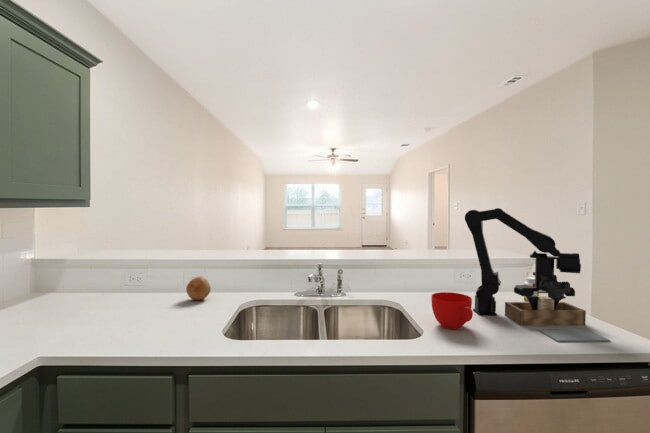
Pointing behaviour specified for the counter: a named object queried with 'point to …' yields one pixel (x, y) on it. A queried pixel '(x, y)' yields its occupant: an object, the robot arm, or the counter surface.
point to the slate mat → (573, 335)
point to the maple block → (545, 303)
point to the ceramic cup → (451, 309)
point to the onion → (198, 288)
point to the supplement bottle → (529, 283)
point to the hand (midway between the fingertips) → (543, 314)
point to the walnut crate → (544, 314)
